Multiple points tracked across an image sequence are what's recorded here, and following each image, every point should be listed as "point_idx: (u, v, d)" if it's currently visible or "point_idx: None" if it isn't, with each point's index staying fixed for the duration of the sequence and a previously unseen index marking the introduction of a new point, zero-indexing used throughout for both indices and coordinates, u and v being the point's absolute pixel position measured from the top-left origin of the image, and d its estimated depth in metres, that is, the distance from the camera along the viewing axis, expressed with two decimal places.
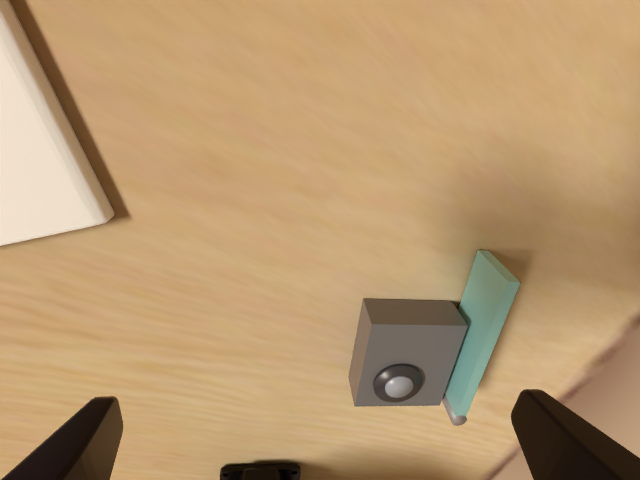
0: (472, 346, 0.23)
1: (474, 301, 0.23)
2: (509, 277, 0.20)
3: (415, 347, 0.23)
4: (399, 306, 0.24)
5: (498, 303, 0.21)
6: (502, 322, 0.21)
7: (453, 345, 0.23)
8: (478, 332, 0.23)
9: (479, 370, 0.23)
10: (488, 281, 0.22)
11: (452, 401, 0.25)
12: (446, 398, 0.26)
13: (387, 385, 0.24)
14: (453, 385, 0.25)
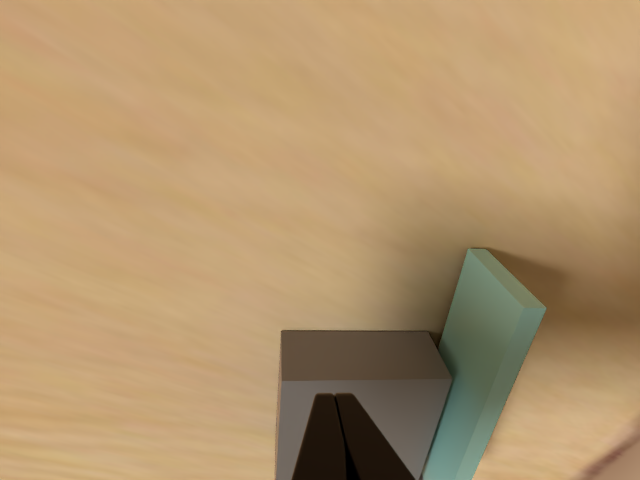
0: (461, 412, 0.14)
1: (463, 335, 0.14)
2: (524, 298, 0.11)
3: None
4: (339, 344, 0.14)
5: (505, 345, 0.11)
6: (512, 378, 0.12)
7: (429, 410, 0.14)
8: (471, 391, 0.13)
9: (473, 454, 0.13)
10: (486, 303, 0.12)
11: None
12: None
13: None
14: (433, 467, 0.16)
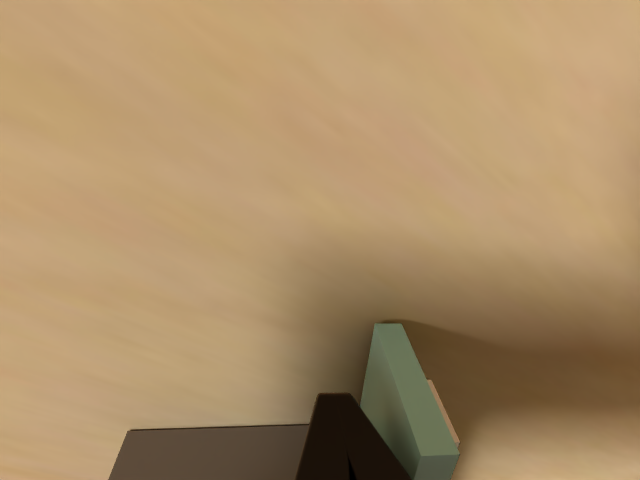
0: None
1: None
2: (428, 432, 0.07)
3: None
4: (203, 452, 0.10)
5: None
6: None
7: None
8: None
9: None
10: (387, 416, 0.08)
11: None
12: None
13: None
14: None
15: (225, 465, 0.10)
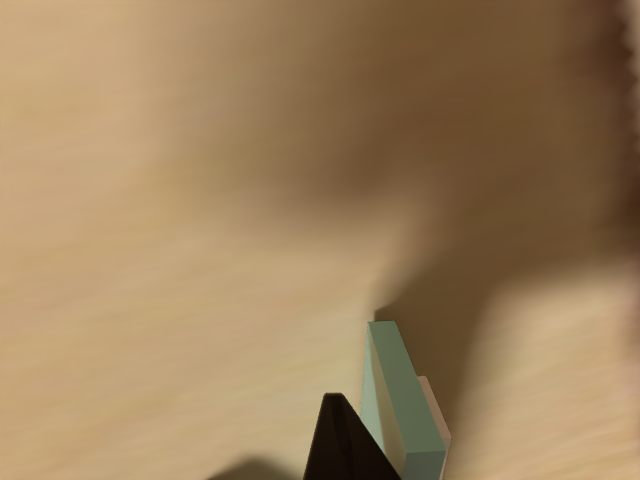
0: None
1: None
2: (416, 429, 0.07)
3: None
4: None
5: None
6: None
7: None
8: None
9: None
10: (381, 413, 0.08)
11: None
12: None
13: None
14: None
15: None
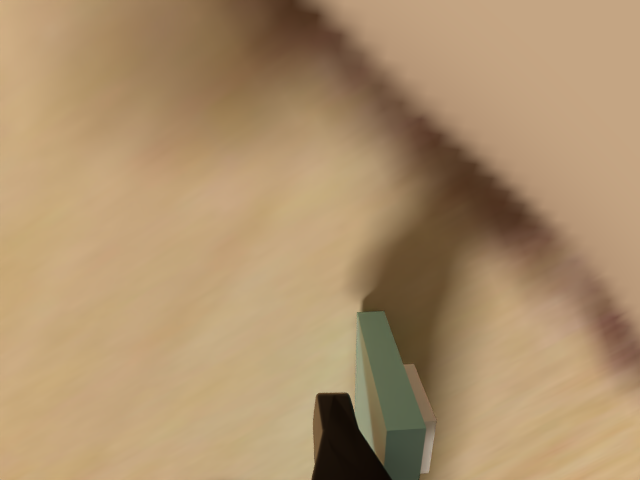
0: None
1: None
2: (397, 409, 0.07)
3: None
4: None
5: None
6: None
7: None
8: None
9: None
10: (368, 400, 0.08)
11: None
12: None
13: None
14: None
15: None
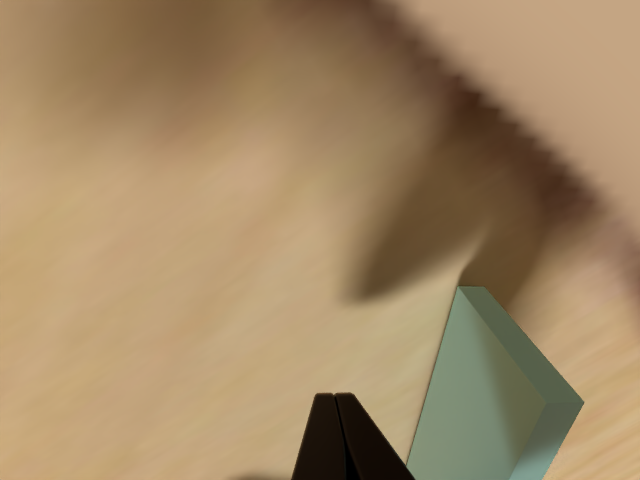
0: None
1: (452, 412, 0.09)
2: (546, 382, 0.07)
3: None
4: None
5: (514, 453, 0.07)
6: None
7: None
8: None
9: None
10: (483, 375, 0.08)
11: None
12: None
13: None
14: None
15: None
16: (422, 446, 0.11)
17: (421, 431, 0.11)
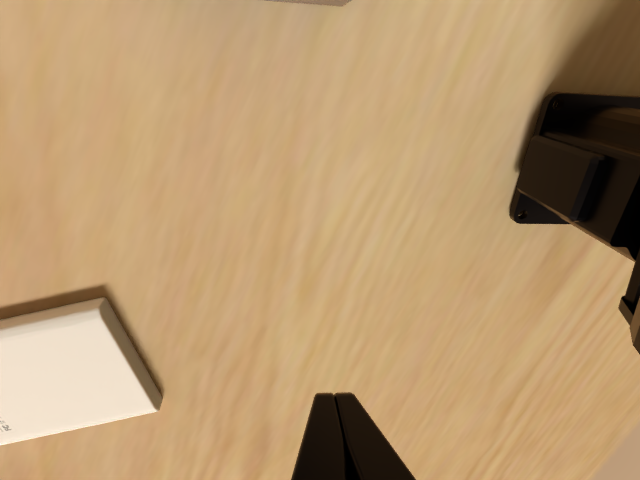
0: None
1: None
2: None
3: None
4: None
5: None
6: None
7: None
8: None
9: None
10: None
11: None
12: None
13: None
14: None
15: None
16: None
17: None
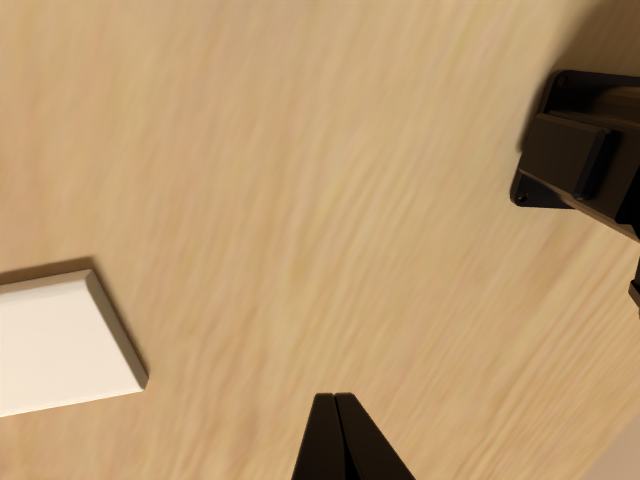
0: None
1: None
2: None
3: None
4: None
5: None
6: None
7: None
8: None
9: None
10: None
11: None
12: None
13: None
14: None
15: None
16: None
17: None
